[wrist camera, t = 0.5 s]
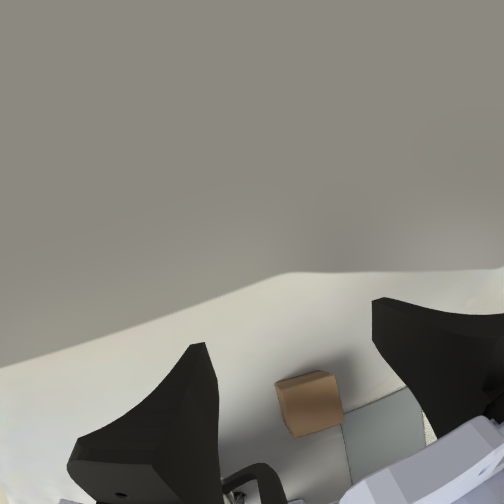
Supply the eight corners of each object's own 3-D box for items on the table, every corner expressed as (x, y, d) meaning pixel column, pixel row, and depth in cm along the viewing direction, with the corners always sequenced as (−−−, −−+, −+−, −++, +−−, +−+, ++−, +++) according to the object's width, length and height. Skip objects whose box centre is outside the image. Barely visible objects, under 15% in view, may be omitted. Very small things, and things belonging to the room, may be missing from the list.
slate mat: (423, 450, 29) (425, 451, 28) (352, 485, 27) (354, 487, 27) (415, 382, 32) (417, 382, 32) (338, 415, 31) (340, 416, 30)
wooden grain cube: (328, 410, 31) (345, 421, 25) (284, 424, 30) (294, 438, 25) (318, 370, 33) (334, 374, 27) (274, 382, 32) (282, 390, 26)
